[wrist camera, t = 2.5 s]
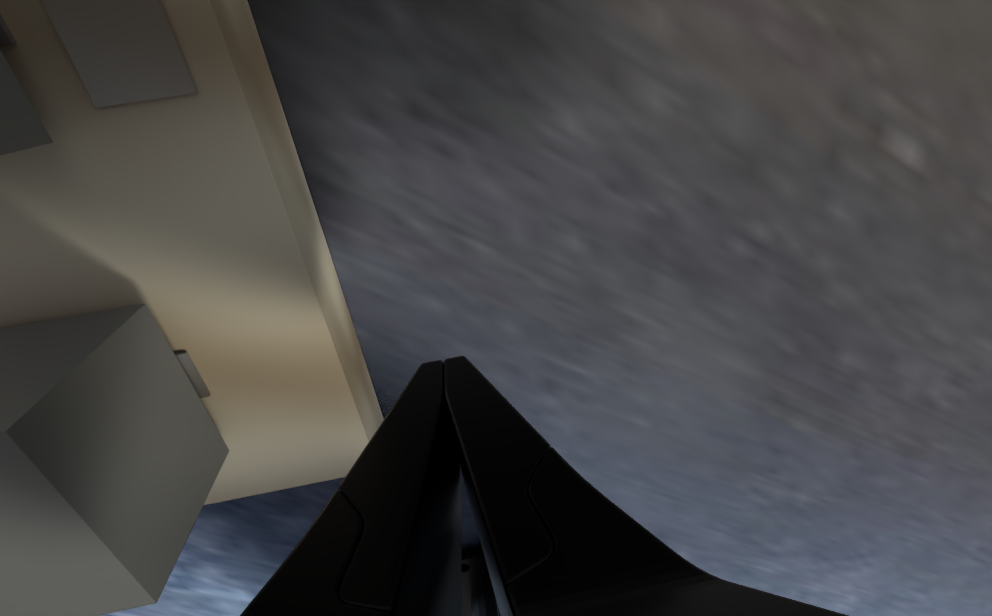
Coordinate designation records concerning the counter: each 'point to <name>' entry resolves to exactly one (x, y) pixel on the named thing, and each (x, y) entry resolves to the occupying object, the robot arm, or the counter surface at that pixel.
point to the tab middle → (17, 115)
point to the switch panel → (184, 223)
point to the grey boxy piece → (97, 463)
